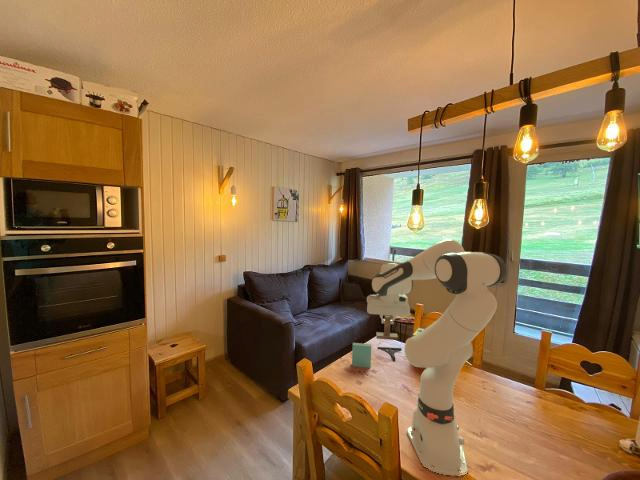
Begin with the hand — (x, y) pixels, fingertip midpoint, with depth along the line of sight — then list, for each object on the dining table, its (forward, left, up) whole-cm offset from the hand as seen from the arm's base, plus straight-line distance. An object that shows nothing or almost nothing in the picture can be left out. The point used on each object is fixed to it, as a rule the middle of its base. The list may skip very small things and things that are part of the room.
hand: (387, 323), depth 128 cm
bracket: (+28, -6, -30) cm, 42 cm away
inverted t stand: (0, 0, -7) cm, 7 cm away
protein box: (+26, -24, -30) cm, 46 cm away
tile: (+12, +12, -29) cm, 34 cm away
